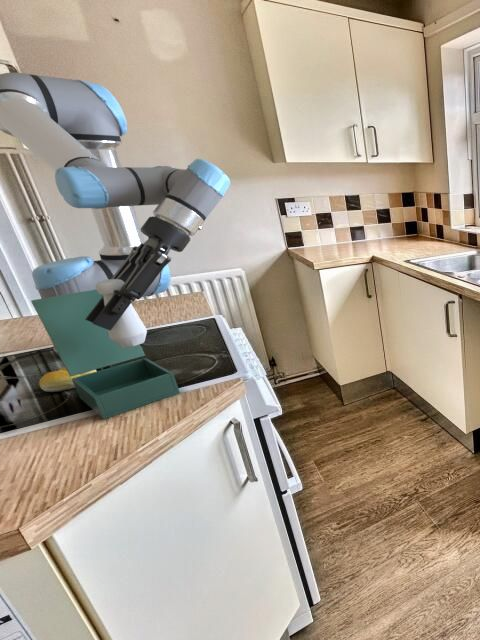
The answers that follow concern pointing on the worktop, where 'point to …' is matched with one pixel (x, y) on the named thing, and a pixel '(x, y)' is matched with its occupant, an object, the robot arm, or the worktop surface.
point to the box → (125, 387)
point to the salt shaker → (123, 317)
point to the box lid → (80, 333)
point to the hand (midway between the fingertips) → (97, 324)
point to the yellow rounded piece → (59, 380)
